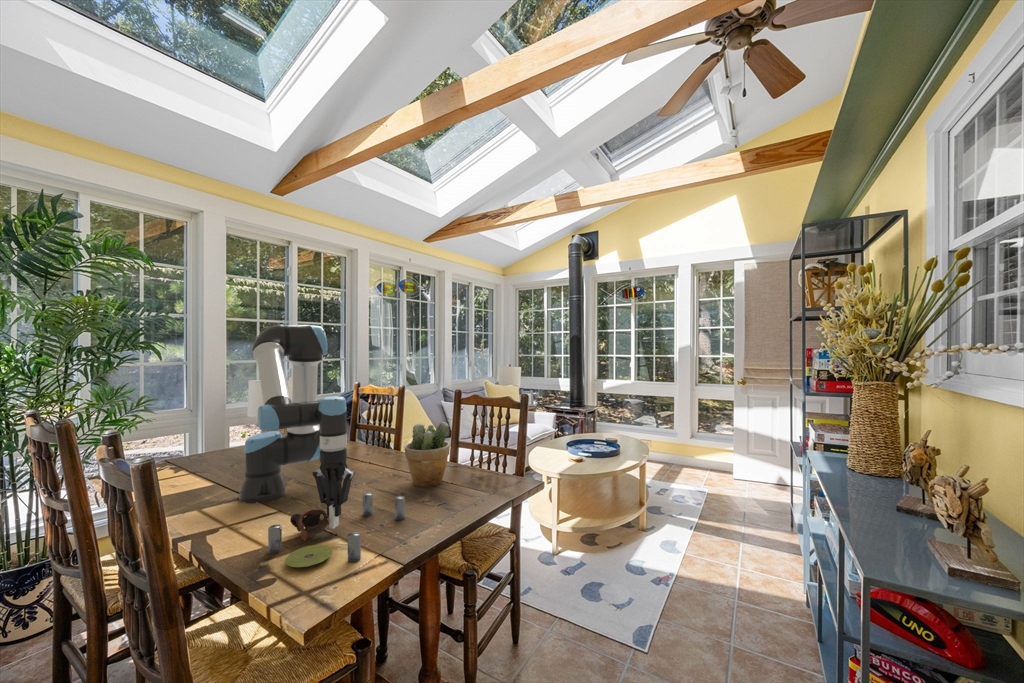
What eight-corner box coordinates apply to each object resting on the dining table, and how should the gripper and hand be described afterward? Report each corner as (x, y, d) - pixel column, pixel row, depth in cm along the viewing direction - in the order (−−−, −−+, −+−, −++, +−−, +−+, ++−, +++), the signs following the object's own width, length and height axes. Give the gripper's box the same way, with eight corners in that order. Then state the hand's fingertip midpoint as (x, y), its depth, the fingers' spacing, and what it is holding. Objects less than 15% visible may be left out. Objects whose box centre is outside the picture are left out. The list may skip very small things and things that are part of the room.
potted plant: (404, 493, 158) (404, 427, 158) (404, 477, 176) (403, 418, 176) (452, 488, 163) (452, 424, 163) (447, 473, 181) (447, 416, 181)
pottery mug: (335, 526, 130) (335, 508, 126) (319, 553, 121) (319, 535, 118) (298, 517, 130) (296, 499, 126) (280, 544, 122) (278, 525, 118)
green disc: (330, 547, 116) (330, 540, 116) (334, 567, 106) (334, 559, 106) (285, 558, 111) (285, 550, 111) (284, 579, 101) (284, 571, 101)
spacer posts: (265, 555, 112) (265, 529, 112) (334, 510, 142) (334, 489, 142) (356, 565, 107) (356, 538, 107) (408, 516, 137) (407, 495, 137)
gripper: (305, 450, 123) (306, 530, 123) (345, 452, 120) (346, 533, 120) (322, 444, 130) (322, 519, 130) (359, 446, 128) (360, 522, 128)
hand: (334, 526), depth 125 cm, fingers closed
